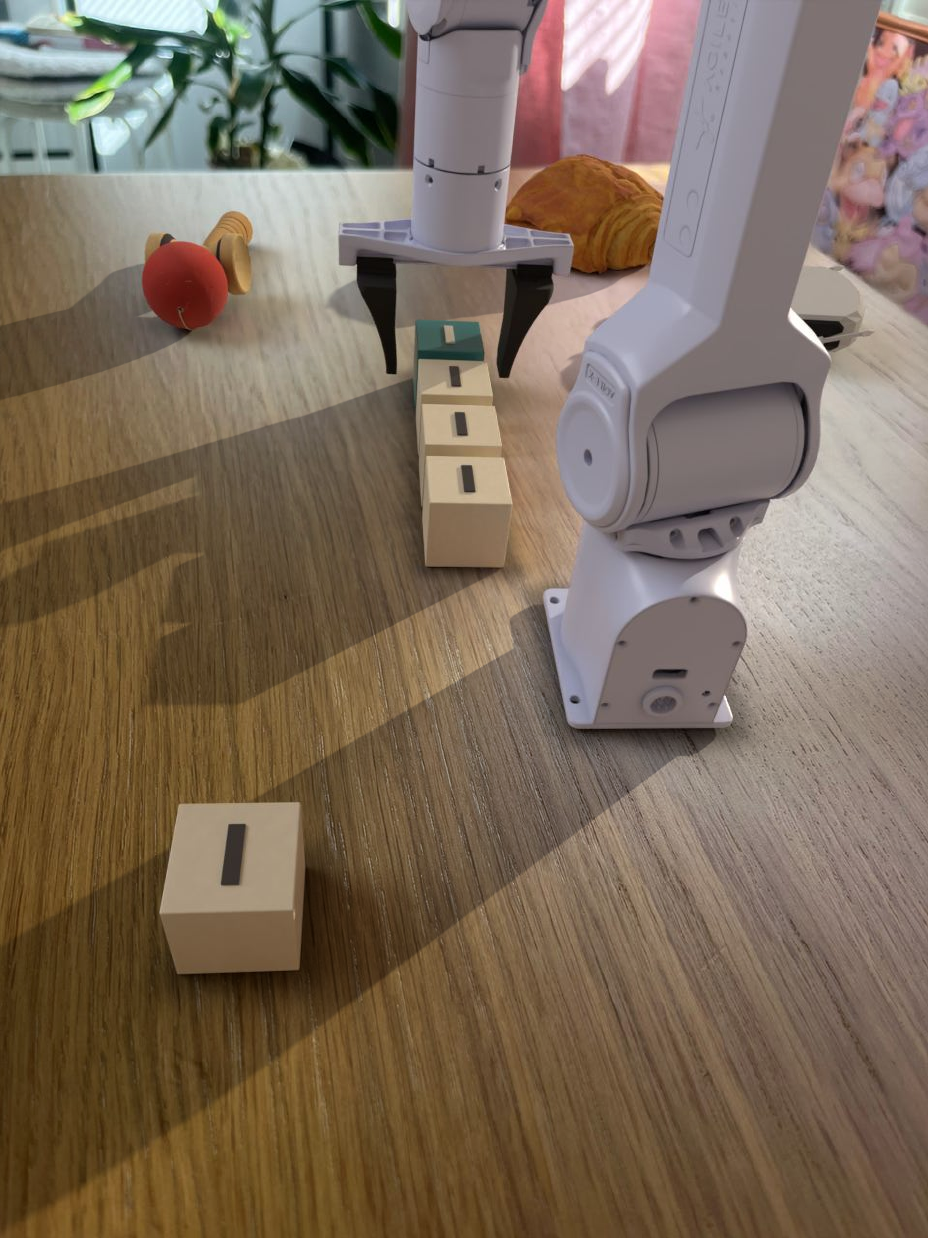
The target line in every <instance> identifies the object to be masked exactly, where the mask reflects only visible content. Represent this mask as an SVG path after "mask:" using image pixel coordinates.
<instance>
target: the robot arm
mask: <svg viewBox="0 0 928 1238" xmlns="http://www.w3.org/2000/svg"><path fill="white" fill-rule="evenodd" d="M404 2H405V6H406V7H405V8H406V11H407V15H408V18H409V21H410V23H411V26H412V28H413V29H414V30H415V32H416V33H417V46H416V48H417V49H416V75H415V77H416V78H415V79H416V80H415V81H416V82H415V105H414V108H415V109H414V133H413V134H414V135H413V158H412V159H413V161H412V164H413V165H412V184H411V185H412V187H411V216H410V218H401V219H389V220H378V221H377V220H376V221H365V222H364V221H363V222H339V223H338V233H337V235H338V236H337V237H338V239H337V240H338V241H337V242H338V245H337V247H338V265H339V266H342V267H345V266H346V267H355V266H356V284H357V288H358V291H359V293H360V296H361V297H362V299H363V301H364V303H365V305H366V307H367V309H368V311H369V313H370V315H371V318H372V320H373V322H374V325H375V327H376V331H377V334H378V337H379V339H380V344H381V347H382V351H383V352H382V353H383V357H384V362H385V374H386V375H397V372H398V353H397V351H398V350H397V333H396V332H397V331H396V318H397V317H396V314H397V312H396V311H397V293H398V291H397V290H398V288H397V265H398V264H399V265H400V264H401V265H422V266H441V267H442V266H443V267H462V268H463V267H464V268H483V269H484V268H485V269H486V268H488V269H505V270H506V272H505V287H504V289H505V290H504V300H503V301H504V304H503V313H502V321H501V325H500V326H501V328H500V331H499V337H498V344H497V351H496V363H495V364H496V369H497V374H498V378H499V379H509V378H510V377H511V372H512V368H513V367H514V363H515V360H516V357H517V355H518V353H519V351H520V348H521V346H522V344H523V341H524V340H525V338H526V337H527V334H528V333H529V331H530V329H531V327H532V326H533V325H534V323H535V322H536V320H537V319H538V317H539V316H540V314H541V313H542V312H543V310H544V309H545V308H546V307H547V305H548V304H549V303H550V301H551V299H552V296H553V293H554V288H555V283H554V280H553V275H555V276H564V277H566V276H567V277H568V276H570V274H571V269H572V267H571V263H572V256H573V250H574V245H573V242H572V240H571V237H570V235H569V234H564V233H553V232H545V231H539V230H534V229H528V228H523V227H517V226H512V225H507V224H504V221H505V212H506V207H507V202H508V201H507V200H508V194H509V193H508V191H509V182H510V173H511V172H510V171H511V162H512V153H513V142H514V141H513V140H514V135H515V134H514V133H515V123H516V114H517V104H518V96H519V95H518V94H519V85H520V76H523V75H524V74H527V73H528V70H529V66H531V64H532V59H533V58H532V57H533V49H534V41H535V39H536V34H537V32H538V29H539V27H540V26H541V24H542V22H543V19H544V17H545V14H546V10H547V7H548V3H549V0H404ZM883 2H884V0H701V4H700V10H699V15H698V20H697V25H696V31H695V36H694V40H693V45H692V50H691V51H692V52H691V58H690V62H689V67H688V72H687V77H686V82H685V88H684V92H683V98H682V103H681V109H680V114H679V117H678V118H679V119H678V124H677V129H676V134H675V140H674V144H673V148H672V149H673V150H672V155H671V160H670V164H669V169H668V170H669V171H668V175H667V181H666V186H665V190H664V196H663V197H664V201H663V206H662V211H661V217H660V222H659V227H658V232H657V237H656V242H655V248H654V253H653V258H652V262H650V270H649V273H648V278H647V279H648V281H647V282H646V283H645V285H644V286H643V287H642V288H641V289H640V290H639V291H637V292H636V293H635V294H634V295H633V296H632V297H631V298H630V299H629V300H628V301H627V302H625V303H624V304H623V305H621V306H620V308H618V309H617V310H616V311H615V312H614V313H613V314H611V315H610V316H609V317H608V318H607V319H606V320H604V321H603V322H602V323H601V324H600V325H599V326H598V327H597V328H596V329H595V330H593V331H592V332H591V333H590V334H589V335H588V336H587V338H586V339H585V340H584V346H583V353H582V358H581V363H580V367H579V372H578V375H577V378H576V380H575V383H574V386H573V387H572V389H571V391H570V393H569V394H568V396H567V397H566V400H565V403H564V405H563V407H562V409H561V412H560V414H559V418H558V422H557V427H556V436H555V449H556V451H555V453H556V461H557V462H556V463H557V468H558V473H559V477H560V479H561V484H562V487H563V490H564V492H565V495H566V497H567V499H568V501H569V502H570V504H571V506H572V507H573V509H574V510H575V511H576V512H577V514H578V515H579V516H581V518H582V523H581V527H580V532H579V538H578V541H577V546H576V551H575V556H574V561H573V567H572V571H571V576H570V581H569V585H568V588H547V589H545V590H544V592H543V596H542V600H543V601H542V602H543V606H544V612H545V617H546V622H547V626H548V632H549V636H550V640H551V641H550V642H551V647H552V653H553V656H554V663H555V667H556V672H557V677H558V683H559V687H560V693H561V697H562V703H563V707H564V712H565V718H566V721H567V723H568V725H569V727H571V728H573V729H576V730H577V729H578V730H588V729H589V730H591V729H592V730H597V729H598V730H599V729H600V730H602V729H603V730H604V729H609V730H611V729H613V730H616V729H617V730H618V729H725V728H729V727H730V726H731V724H732V722H733V720H734V717H733V713H732V710H731V707H730V704H729V702H728V699H727V696H726V692H727V690H728V687H729V685H730V682H731V680H732V678H733V675H734V673H735V671H736V668H737V665H738V663H739V660H740V659H741V658H740V657H741V655H742V653H743V650H744V648H745V646H746V642H747V639H748V628H749V627H748V621H747V617H746V614H745V610H744V608H743V603H742V600H741V596H740V594H739V593H740V592H739V582H738V569H739V560H740V555H741V551H742V549H743V544H744V541H745V537H746V534H747V533H748V531H749V530H750V529H751V528H752V527H754V526H757V525H760V524H762V523H763V522H764V520H765V519H764V518H765V516H766V513H767V511H768V509H769V505H770V504H771V500H780V499H784V498H787V497H789V496H791V495H793V494H794V493H797V492H798V490H800V489H801V488H802V487H803V486H804V484H805V483H806V482H807V481H808V479H809V478H810V476H811V474H812V472H813V470H814V468H815V466H816V462H817V459H818V455H819V452H820V446H821V438H822V437H821V435H822V427H821V407H822V405H821V404H822V398H823V397H822V396H823V390H824V387H825V384H826V380H827V377H828V374H829V371H830V368H831V366H832V362H833V361H832V357H831V354H829V353H830V352H827V350H826V349H825V347H824V346H823V344H822V343H821V341H820V340H819V339H818V337H817V336H816V334H815V333H814V332H813V331H812V329H811V328H810V327H809V326H808V325H807V324H806V323H805V322H804V321H803V320H802V319H801V318H800V317H799V316H798V315H797V314H796V313H795V312H794V311H793V310H792V309H791V308H790V307H791V304H792V301H793V298H794V294H795V291H796V288H797V284H798V281H799V278H800V274H801V271H802V268H803V266H804V264H805V261H806V257H807V253H808V251H809V247H810V244H811V241H812V237H813V234H814V231H815V228H816V224H817V221H818V218H819V214H820V211H821V207H822V204H823V201H824V198H825V194H826V191H827V187H828V184H829V181H830V177H831V174H832V171H833V168H834V165H835V161H836V157H837V154H838V150H839V148H840V144H841V141H842V138H843V134H844V130H845V128H846V125H847V121H848V118H849V115H850V111H851V108H852V104H853V101H854V98H855V94H856V92H857V88H858V84H859V81H860V78H861V75H862V72H863V67H864V65H865V61H866V58H867V54H868V51H869V48H870V44H871V41H872V38H873V36H874V35H873V34H874V31H875V28H876V25H877V21H878V18H879V14H880V12H881V8H882V5H883ZM574 702H576V703H574Z"/></svg>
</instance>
